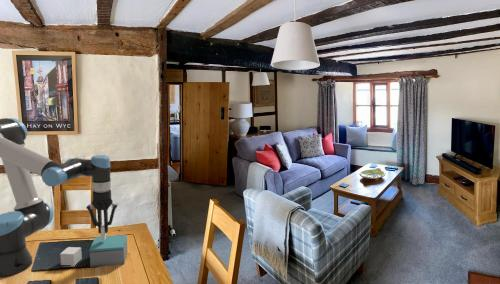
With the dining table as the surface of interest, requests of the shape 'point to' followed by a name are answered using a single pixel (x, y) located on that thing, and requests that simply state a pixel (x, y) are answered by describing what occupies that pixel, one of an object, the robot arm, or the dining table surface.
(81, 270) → the dining table surface
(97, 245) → the lid
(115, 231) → the dining table surface
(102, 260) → the box
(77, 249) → the light grey cube
